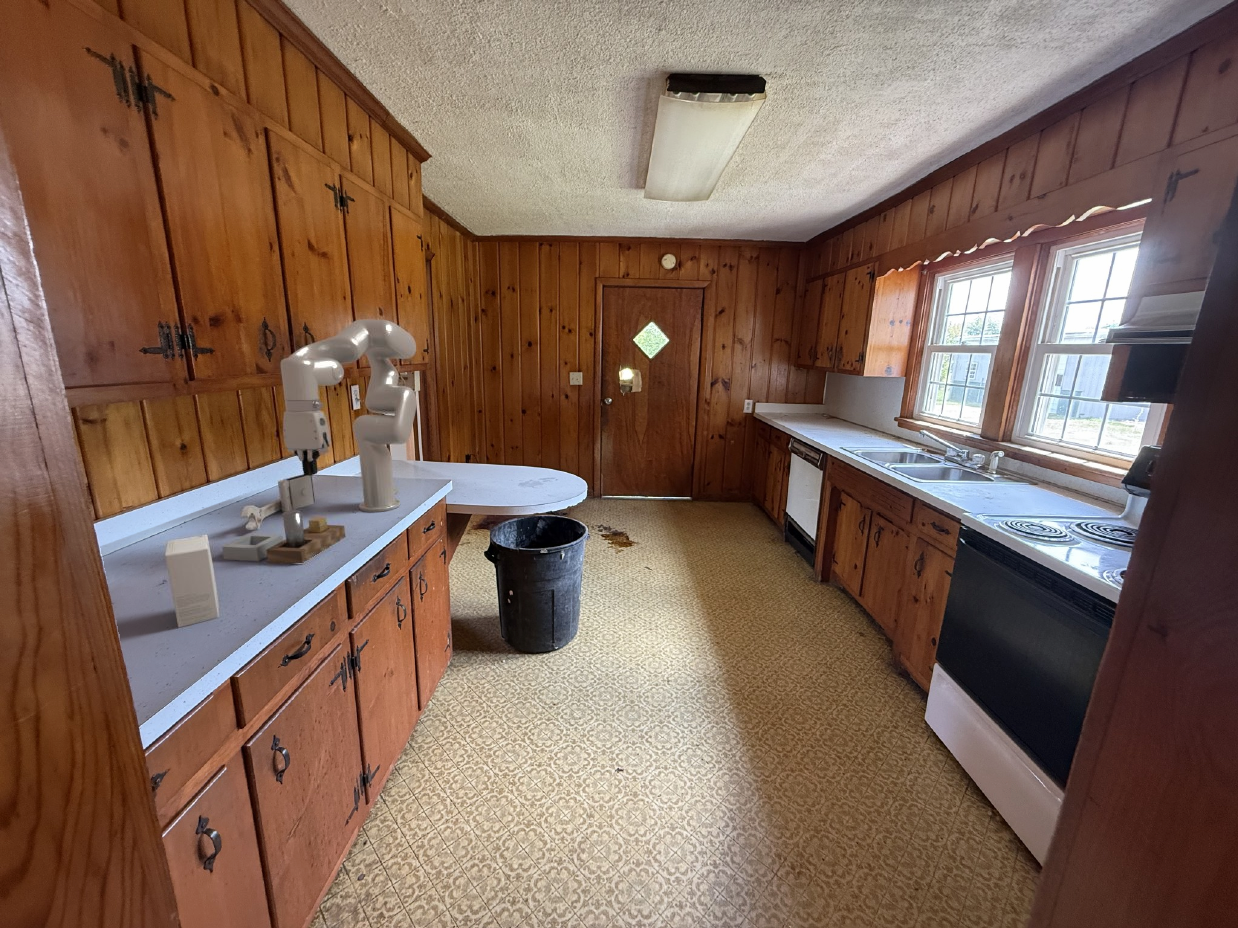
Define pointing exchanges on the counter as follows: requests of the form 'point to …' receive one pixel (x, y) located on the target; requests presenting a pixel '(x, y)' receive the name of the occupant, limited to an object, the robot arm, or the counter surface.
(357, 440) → the robot arm
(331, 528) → the socket block
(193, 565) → the skincare box
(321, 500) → the counter surface
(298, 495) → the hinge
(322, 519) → the tan square peg
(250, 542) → the holder
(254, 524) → the wrench
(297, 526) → the grey metal rounded cylinder
